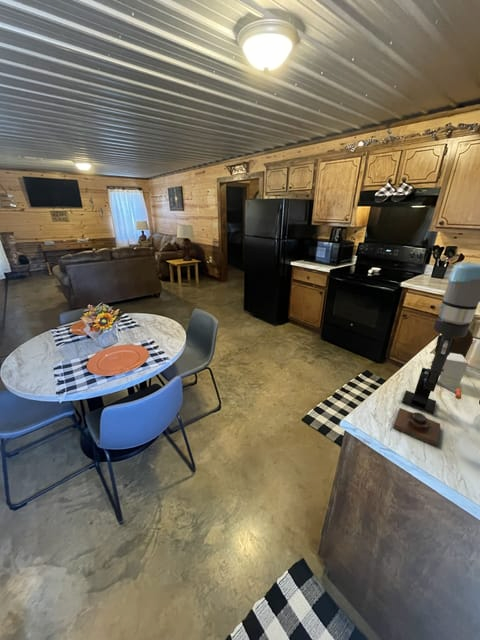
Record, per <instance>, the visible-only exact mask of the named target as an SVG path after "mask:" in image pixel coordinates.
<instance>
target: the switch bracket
mask: <svg viewBox="0 0 480 640" xmlns="http://www.w3.org/2000/svg"><path fill="white" fill-rule="evenodd" d="M427 369H428V368H426V367H422V368H421V371H420V374H419V377H418V380H417V383H416V387H415V390H414V392H413V391H409V390H405V392H404V395H403V398H402V400H401V404H404V405H406V406H409V407H411V408H413V409H417V410H419V411H422V412H425V413H427V414H430V415H432V416H433V415H435V411H436V404H437V400H435V399H432V398H430V395H431V392H432V391H429V390H426V389H423V388H424V384H425V382H426V379H427V376H428V374H426V373H424V372H425V371H427ZM427 372H429V371H427Z"/></svg>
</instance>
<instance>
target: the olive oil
mask: <svg viewBox="0 0 480 640" xmlns="http://www.w3.org/2000/svg"><path fill="white" fill-rule="evenodd" d="M453 338H455V344H454V347H453V348H452V349H451V351H450V353H454V354H461V355H463V357H464V358H465V359H466V357H467V354H468V353H469V350H470V348H471V346H472V344H473V343H474V334H473V333H472V332H471V330H470V328H469V329H468V331H467V334H466V336H464V337H453Z"/></svg>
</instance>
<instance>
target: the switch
mask: <svg viewBox="0 0 480 640" xmlns="http://www.w3.org/2000/svg"><path fill="white" fill-rule="evenodd" d="M424 373H426V374H428V373H429V372H427V371H425V372H424ZM437 384H438V385H437ZM437 384H436V385H437V386H440V387H442V388H443V389H445V390H447V391H449V392H450V393H452V394H455V397H454V398H455V399H457V400H461V399H462V393H463V392H462V388H459V387H458V388H457V389H456V388H451V387H449V386H448V385H446V384H444V383H442V382H440V381H437Z"/></svg>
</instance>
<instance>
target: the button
mask: <svg viewBox="0 0 480 640" xmlns="http://www.w3.org/2000/svg"><path fill="white" fill-rule="evenodd" d="M413 413H414V414H413V417H412V419H413V421H415V422H416V423H419V424H425V421H426V418H427V416H426V415H425V414H423V413H420V412H413Z"/></svg>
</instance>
